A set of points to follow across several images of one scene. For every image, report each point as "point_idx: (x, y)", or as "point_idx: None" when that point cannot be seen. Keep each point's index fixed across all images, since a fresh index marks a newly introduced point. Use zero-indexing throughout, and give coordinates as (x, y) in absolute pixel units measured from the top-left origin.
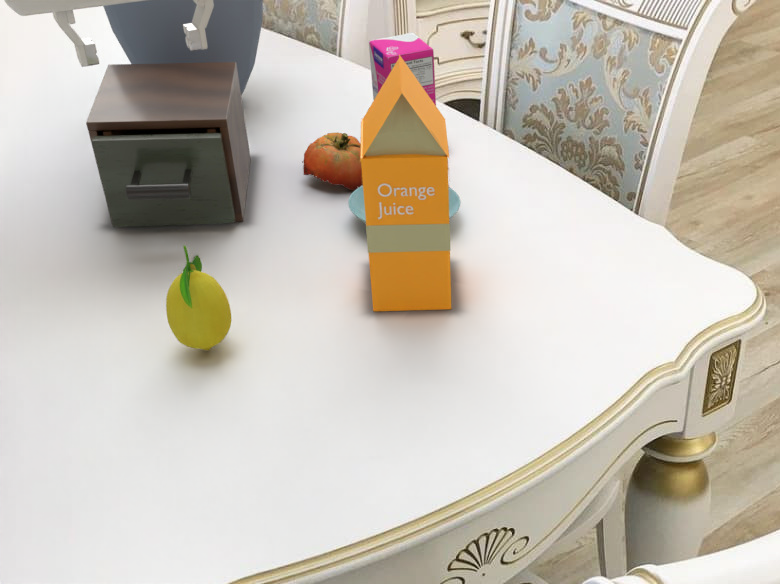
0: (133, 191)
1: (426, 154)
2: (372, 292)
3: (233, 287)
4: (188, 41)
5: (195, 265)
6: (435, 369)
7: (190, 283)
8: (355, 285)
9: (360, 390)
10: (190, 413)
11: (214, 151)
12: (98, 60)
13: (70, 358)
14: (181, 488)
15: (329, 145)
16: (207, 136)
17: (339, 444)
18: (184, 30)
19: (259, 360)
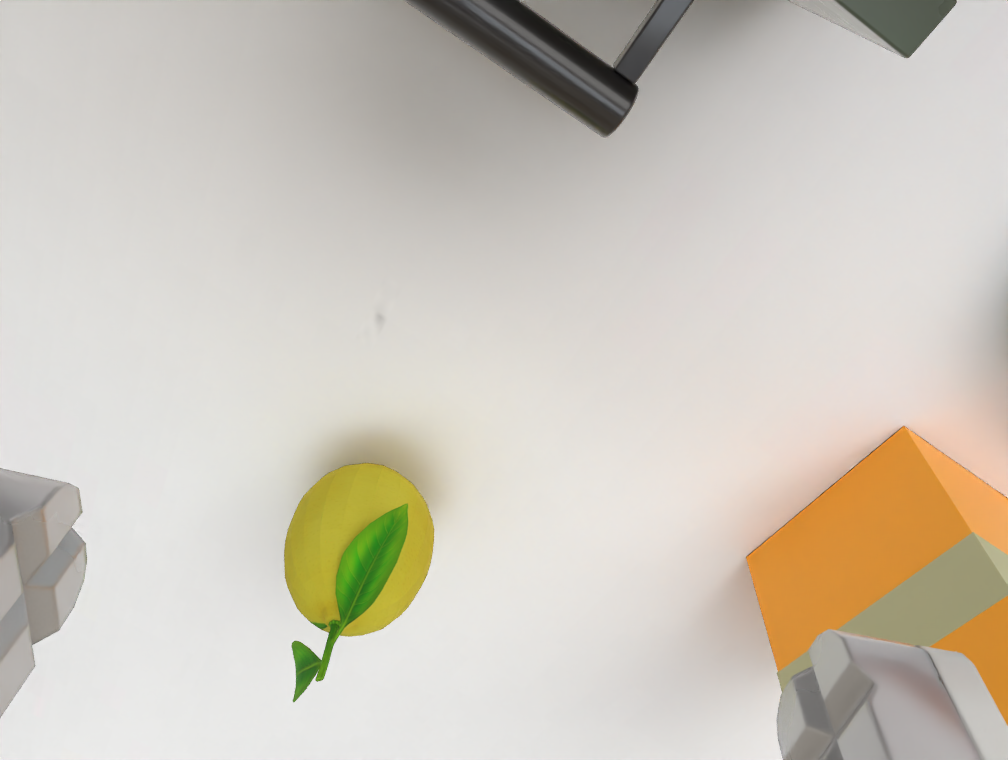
0: (415, 7)
1: None
2: (757, 591)
3: (565, 302)
4: (827, 698)
5: (374, 572)
6: (687, 721)
7: (326, 629)
8: (802, 462)
9: (548, 697)
10: (273, 605)
11: (854, 24)
12: (66, 614)
13: (103, 346)
14: (201, 713)
15: None
16: (872, 3)
17: (441, 756)
18: (863, 737)
19: (453, 558)
